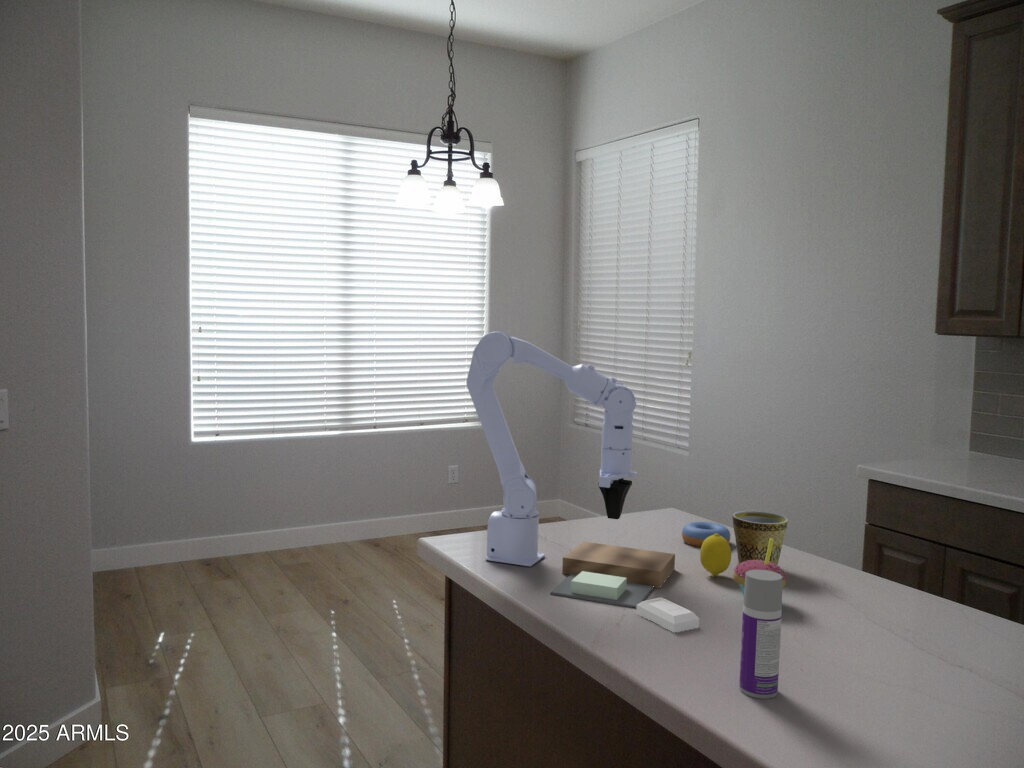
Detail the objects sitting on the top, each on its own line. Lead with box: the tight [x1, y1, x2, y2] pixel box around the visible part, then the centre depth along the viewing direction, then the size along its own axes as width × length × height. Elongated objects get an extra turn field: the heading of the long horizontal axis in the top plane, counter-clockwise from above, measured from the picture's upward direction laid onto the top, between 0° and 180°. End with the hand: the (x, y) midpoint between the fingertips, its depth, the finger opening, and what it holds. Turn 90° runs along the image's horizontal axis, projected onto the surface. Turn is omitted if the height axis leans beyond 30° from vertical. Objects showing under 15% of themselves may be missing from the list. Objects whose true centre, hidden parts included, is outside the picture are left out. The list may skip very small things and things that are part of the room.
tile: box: [571, 571, 627, 600], centre depth 140 cm, size 8×6×2 cm
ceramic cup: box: [732, 510, 789, 566], centre depth 157 cm, size 13×10×10 cm
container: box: [739, 570, 783, 700], centre depth 104 cm, size 5×5×15 cm
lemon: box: [699, 533, 732, 577], centre depth 150 cm, size 6×6×8 cm
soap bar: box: [635, 596, 700, 634], centre depth 128 cm, size 5×9×3 cm, turn 30°
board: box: [561, 541, 676, 588], centre depth 152 cm, size 18×12×3 cm, turn 67°
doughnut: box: [681, 521, 731, 548], centre depth 173 cm, size 10×10×5 cm
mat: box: [549, 574, 654, 609], centre depth 141 cm, size 15×11×1 cm
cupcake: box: [732, 535, 788, 599], centre depth 137 cm, size 9×8×12 cm
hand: (613, 518), depth 157 cm, fingers closed
